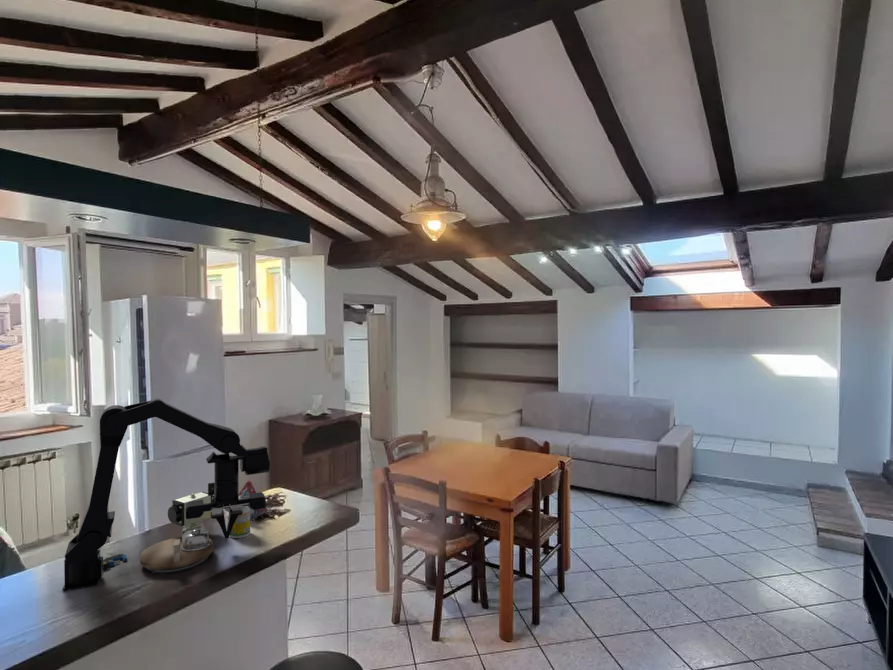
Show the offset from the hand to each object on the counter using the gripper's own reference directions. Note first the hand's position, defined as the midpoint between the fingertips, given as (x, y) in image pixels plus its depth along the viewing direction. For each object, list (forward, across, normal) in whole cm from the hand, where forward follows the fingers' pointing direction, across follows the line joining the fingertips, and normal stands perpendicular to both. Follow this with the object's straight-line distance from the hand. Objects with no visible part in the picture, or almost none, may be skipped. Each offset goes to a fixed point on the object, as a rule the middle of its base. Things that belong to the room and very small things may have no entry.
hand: (226, 538), depth 131 cm
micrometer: (+4, +28, -4) cm, 29 cm away
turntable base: (+4, +11, 0) cm, 12 cm away
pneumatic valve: (+4, +8, -15) cm, 17 cm away
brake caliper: (+4, -7, -24) cm, 25 cm away
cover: (+1, +7, 0) cm, 7 cm away
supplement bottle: (+4, -4, -10) cm, 11 cm away
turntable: (+2, +11, 0) cm, 11 cm away
